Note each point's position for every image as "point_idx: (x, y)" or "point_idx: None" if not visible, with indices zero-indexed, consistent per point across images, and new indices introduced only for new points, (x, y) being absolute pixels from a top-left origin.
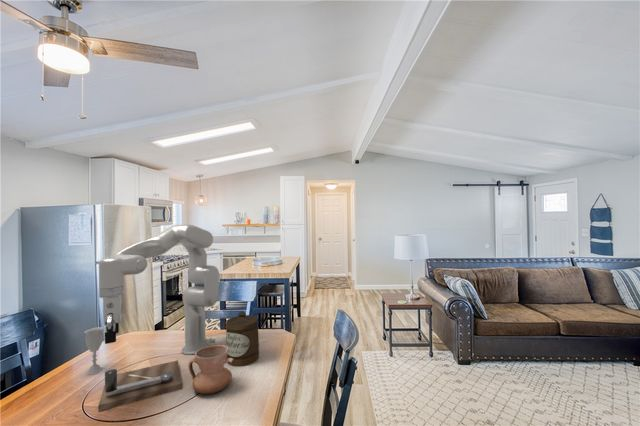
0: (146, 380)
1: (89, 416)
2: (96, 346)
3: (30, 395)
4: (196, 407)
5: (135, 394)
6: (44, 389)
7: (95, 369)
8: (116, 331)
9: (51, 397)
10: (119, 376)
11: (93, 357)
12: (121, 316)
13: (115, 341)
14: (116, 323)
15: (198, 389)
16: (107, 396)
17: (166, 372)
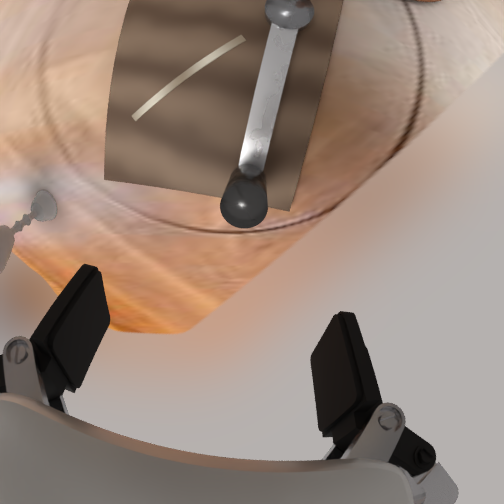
0: (270, 70)
1: (295, 223)
2: (5, 240)
3: None
4: (453, 36)
5: (306, 114)
6: None
7: (46, 207)
8: (94, 290)
9: (131, 282)
10: (125, 145)
11: (22, 227)
12: (111, 486)
13: (354, 315)
14: (56, 352)
15: (432, 1)
16: None
17: (268, 4)
